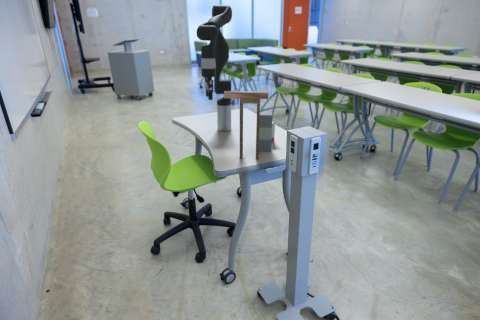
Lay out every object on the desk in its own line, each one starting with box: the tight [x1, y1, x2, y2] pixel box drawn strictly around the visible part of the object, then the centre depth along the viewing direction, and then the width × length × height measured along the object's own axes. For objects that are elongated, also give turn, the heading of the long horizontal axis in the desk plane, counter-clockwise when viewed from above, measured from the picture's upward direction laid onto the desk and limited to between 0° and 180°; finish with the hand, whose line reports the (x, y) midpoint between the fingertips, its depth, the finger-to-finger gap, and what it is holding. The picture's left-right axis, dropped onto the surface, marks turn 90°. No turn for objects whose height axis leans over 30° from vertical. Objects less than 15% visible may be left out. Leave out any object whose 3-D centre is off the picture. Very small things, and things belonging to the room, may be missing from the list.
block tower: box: [259, 111, 273, 152], centre depth 173 cm, size 6×8×21 cm
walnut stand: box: [239, 99, 261, 160], centre depth 161 cm, size 6×10×32 cm, turn 87°
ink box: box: [271, 120, 276, 143], centre depth 188 cm, size 9×5×12 cm, turn 100°
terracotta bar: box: [223, 90, 269, 100], centre depth 154 cm, size 3×22×3 cm, turn 87°
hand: (209, 98), depth 168 cm, fingers open, 8 cm apart
